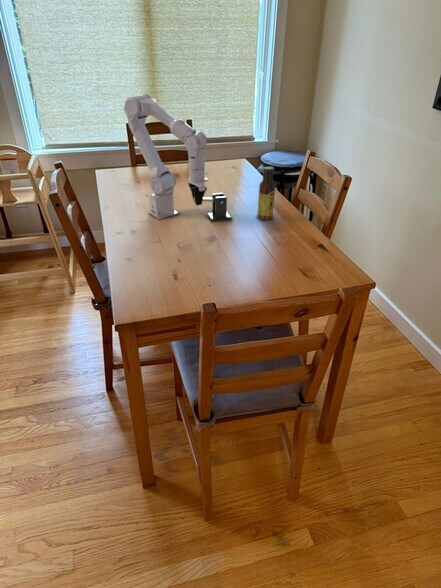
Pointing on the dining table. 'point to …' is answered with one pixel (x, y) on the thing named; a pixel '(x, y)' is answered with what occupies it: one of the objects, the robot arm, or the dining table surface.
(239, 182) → the dining table surface
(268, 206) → the sauce bottle
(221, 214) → the dark grey lever bracket
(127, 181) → the dining table surface
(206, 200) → the tap lever
